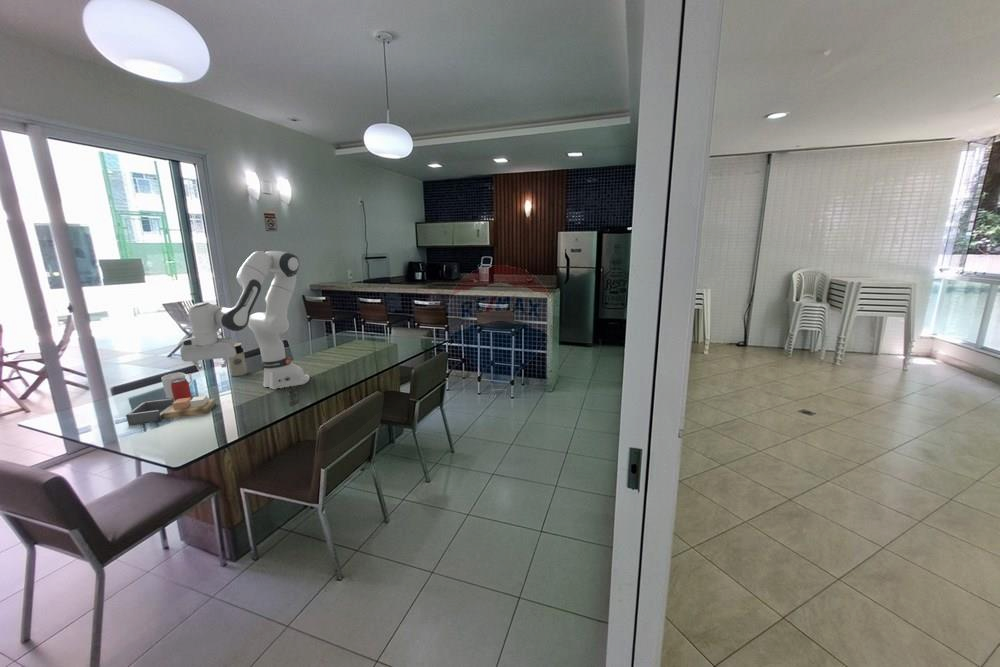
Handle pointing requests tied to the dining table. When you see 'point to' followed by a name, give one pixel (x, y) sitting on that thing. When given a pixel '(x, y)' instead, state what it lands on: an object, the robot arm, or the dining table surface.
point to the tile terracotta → (181, 403)
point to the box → (149, 412)
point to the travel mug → (238, 361)
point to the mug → (169, 378)
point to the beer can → (180, 389)
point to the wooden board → (189, 410)
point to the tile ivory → (199, 401)
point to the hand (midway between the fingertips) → (212, 368)
